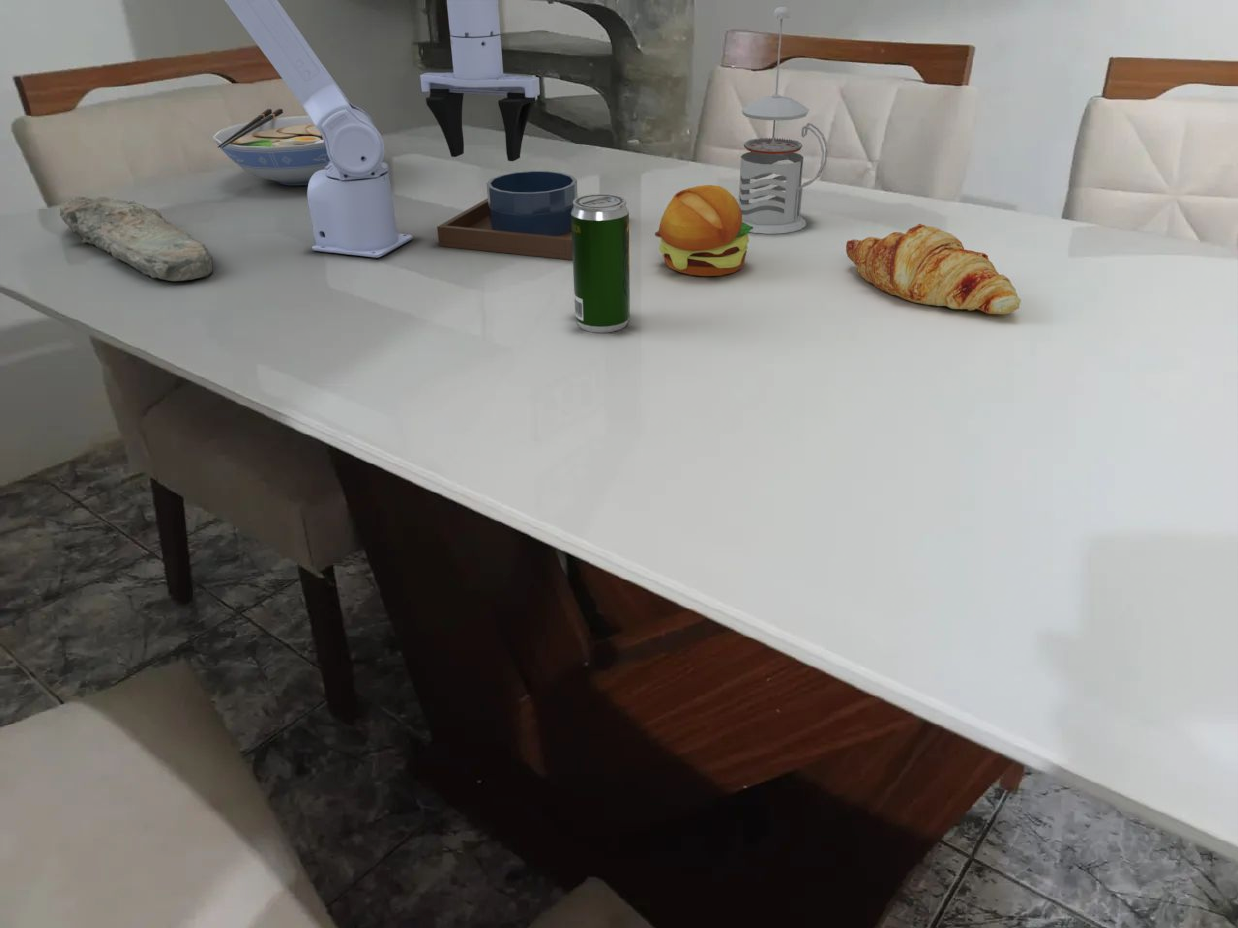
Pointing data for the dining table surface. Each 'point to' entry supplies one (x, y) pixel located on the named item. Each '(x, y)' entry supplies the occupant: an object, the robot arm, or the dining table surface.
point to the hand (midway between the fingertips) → (485, 157)
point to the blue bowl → (532, 202)
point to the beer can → (601, 262)
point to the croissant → (933, 271)
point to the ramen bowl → (276, 147)
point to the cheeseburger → (703, 232)
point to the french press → (756, 164)
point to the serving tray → (499, 236)
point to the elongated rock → (137, 237)
